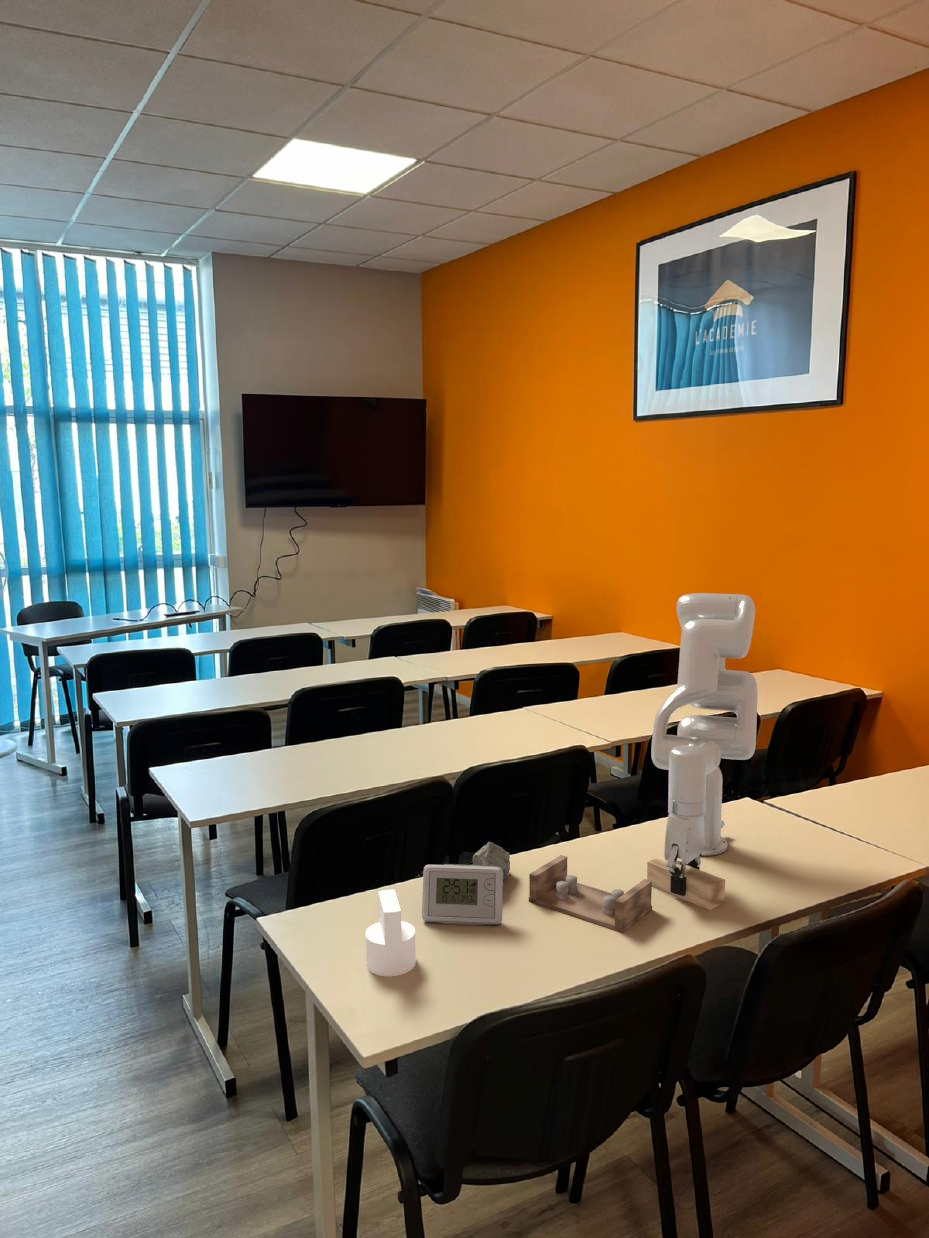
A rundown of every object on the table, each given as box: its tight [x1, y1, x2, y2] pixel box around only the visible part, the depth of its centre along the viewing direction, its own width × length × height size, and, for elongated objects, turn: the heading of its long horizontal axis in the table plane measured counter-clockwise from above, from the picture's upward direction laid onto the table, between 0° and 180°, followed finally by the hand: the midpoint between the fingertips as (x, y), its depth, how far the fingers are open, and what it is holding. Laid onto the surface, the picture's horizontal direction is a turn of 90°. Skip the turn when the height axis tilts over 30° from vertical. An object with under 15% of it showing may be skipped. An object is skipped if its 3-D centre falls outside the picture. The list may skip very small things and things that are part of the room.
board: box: [646, 855, 726, 911], centre depth 188 cm, size 5×16×5 cm, turn 39°
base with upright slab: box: [364, 889, 417, 977], centre depth 162 cm, size 9×9×12 cm
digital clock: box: [421, 863, 504, 926], centre depth 178 cm, size 16×9×11 cm, turn 72°
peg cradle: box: [528, 854, 653, 933], centre depth 183 cm, size 12×22×6 cm, turn 51°
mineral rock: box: [472, 841, 511, 880], centre depth 193 cm, size 13×11×10 cm
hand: (684, 887), depth 188 cm, fingers closed on board, 5 cm apart
